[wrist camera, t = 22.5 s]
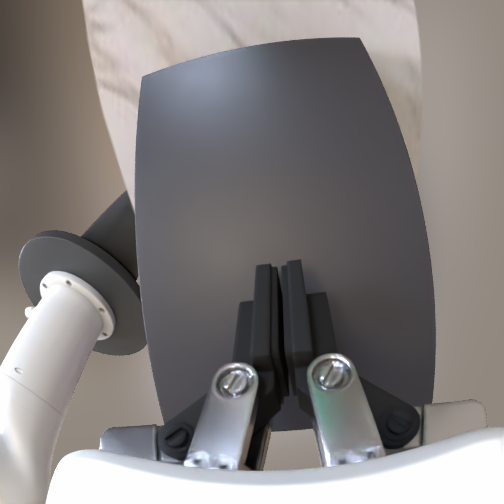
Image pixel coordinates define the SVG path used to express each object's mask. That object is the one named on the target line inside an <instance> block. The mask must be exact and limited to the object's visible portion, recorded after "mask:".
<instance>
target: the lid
mask: <svg viewBox="0 0 504 504" xmlns="http://www.w3.org/2000/svg"><path fill="white" fill-rule="evenodd" d="M135 227H136V247H137V262H138V274H139V285H140V294H141V303H142V311H143V318H144V326H145V332H146V339H147V345H148V351H149V356H150V362H151V367H152V372H153V377H154V382H155V386H156V391H157V396H158V400H159V404H160V409H161V412H162V416H163V420H164V424H166V423H167V422H168V421H170V420H171V419H172V418H174V417H175V416H177V415H178V414H179V413H181V412H182V411H184V410H185V409H186V408H188V407H189V406H190V405H192V404H193V403H194V402H196V401H197V400H198V399H200V398H201V397H202V396H204V395H205V394H206V393H208V390H209V387H210V384H211V381H212V378H213V376H214V375H215V373H216V372H217V371H218V370H219V369H220V368H221V367H223V366H224V365H226V364H230V363H232V358H233V350H234V341H235V333H236V325H237V316H238V308H239V303H240V302H244V301H253V300H254V286H255V271H256V265H261V264H269V263H271V265H272V267H276V266H277V268H278V274H279V279H280V284H281V290H282V270H281V266H283V265H287V261H291V260H299V259H301V263H302V270H303V277H304V284H305V292H306V294H311V293H318V292H325V291H326V294H327V299H328V303H329V308H330V314H331V319H332V324H333V329H334V335H335V340H336V346H337V352H338V354H341V355H343V356H346V357H347V358H348V359H350V360H351V361H352V363H353V364H354V366H355V369H356V371H357V374H358V376H360V377H362V378H364V379H365V380H367V381H369V382H370V383H372V384H374V385H376V386H377V387H379V388H381V389H383V390H385V391H386V392H388V393H390V394H392V395H393V396H395V397H397V398H399V399H401V400H403V401H404V402H406V403H408V404H410V405H411V406H413V407H419V406H423V405H424V404H431V403H432V399H433V389H434V375H435V349H436V347H435V346H436V326H435V302H434V287H433V276H432V267H431V259H430V252H429V244H428V238H427V233H426V226H425V221H424V216H423V211H422V206H421V201H420V197H419V193H418V188H417V184H416V180H415V176H414V173H413V169H412V165H411V162H410V158H409V155H408V152H407V149H406V145H405V142H404V139H403V136H402V133H401V130H400V127H399V125H398V122H397V119H396V116H395V114H394V111H393V108H392V106H391V103H390V101H389V98H388V96H387V94H386V91H385V89H384V87H383V84H382V82H381V80H380V78H379V75H378V73H377V71H376V69H375V67H374V65H373V63H372V61H371V59H370V57H369V55H368V53H367V51H366V49H365V47H364V45H363V43H362V41H361V40H360V38H315V39H302V40H291V41H282V42H275V43H267V44H261V45H255V46H249V47H244V48H239V49H234V50H229V51H225V52H220V53H216V54H212V55H208V56H204V57H201V58H197V59H193V60H190V61H187V62H183V63H180V64H177V65H174V66H171V67H168V68H165V69H162V70H159V71H156V72H154V73H151V74H148V75H146V76H143V77H142V82H141V90H140V99H139V109H138V121H137V135H136V155H135ZM282 295H283V292H282ZM303 429H313V426H312V422H311V418H310V416H309V415H308V414H307V413H305V412H304V411H302V410H301V409H300V408H299V402H298V397H297V396H294V395H293V390H292V386H291V381H290V376H289V396H287V397H284V404H281V410H280V411H279V412H278V413H277V414H276V415H275V416H274V417H273V425H272V430H271V432H273V431H290V430H303Z"/></svg>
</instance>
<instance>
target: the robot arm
mask: <svg viewBox="0 0 504 504" xmlns="http://www.w3.org/2000/svg"><path fill="white" fill-rule="evenodd" d="M281 270H282V290H281V284H280V279H279V274H278V268H277V266H276V267H272V265H271V263H269V264H261V265H256V271H255V286H254V300H253V301H244V302H240V303H239V308H238V316H237V325H236V333H235V341H234V350H233V358H232V363H230V364H226V365H224V366H223V367H221V368H220V369H219V370H218V371H217V372H216V373H215V375H214V376H213V378H212V381H211V384H210V387H209V390H208V393H206V394H205V395H204V396H202V397H201V398H200V399H198V400H197V401H196V402H194V403H193V404H192V405H190V406H189V407H188V408H186V409H185V410H184V411H182V412H181V413H179V414H178V415H177V416H175V417H174V418H172V419H171V420H170V421H168V422H167V423H166V424H165V425H164V426H157V425H156V424H154V425H143V426H128V427H112V428H109V429H107V430H106V431H105V432H104V433H103V434H102V436H101V440H100V450H81V451H76V452H73V453H70V454H68V455H66V456H65V457H63V459H62V460H61V461H60V463H59V464H58V466H57V468H56V470H55V472H54V475H53V478H52V481H51V484H50V472H51V463H52V457H53V453H54V448H55V444H56V441H57V438H58V434H59V431H60V428H61V425H62V422H63V420H64V417H65V414H66V412H67V409H68V406H69V404H70V401H71V399H72V396H73V394H74V391H75V389H76V386H77V384H78V381H79V379H80V377H81V374H82V372H83V370H84V367H85V365H86V363H87V361H88V358H89V356H90V354H91V352H92V350H93V348H94V345H95V343H96V341H97V340H104V339H107V338H109V337H110V336H111V335H112V333H113V331H114V329H115V324H116V321H115V316H114V314H113V311H112V309H111V308H110V306H109V304H108V303H107V302H106V300H105V299H104V298H103V296H102V295H101V294H100V293H99V292H98V291H97V290H96V289H94V288H93V287H92V286H91V285H90V284H88V283H87V282H85V281H84V280H82V279H81V278H79V277H77V276H75V275H73V274H70V273H67V272H63V271H52V272H49V273H48V274H47V275H46V276H45V277H44V278H43V280H42V281H41V284H40V293H41V297H42V299H41V301H40V302H39V304H38V305H37V306H36V307H27V308H26V310H25V315H26V317H27V318H28V320H27V322H26V323H25V325H24V327H23V328H22V330H21V332H20V333H19V335H18V336H17V338H16V340H15V341H14V343H13V345H12V347H11V348H10V350H9V352H8V354H7V355H6V357H5V359H4V361H3V363H2V365H1V366H0V504H504V428H503V427H489V428H487V413H486V409H485V407H484V405H483V404H482V403H481V402H480V401H478V400H472V399H470V400H463V401H455V402H445V403H434V404H424V405H423V406H419V407H413V406H411V405H410V404H408V403H406V402H404V401H403V400H401V399H399V398H397V397H395V396H393V395H392V394H390V393H388V392H386V391H385V390H383V389H381V388H379V387H377V386H376V385H374V384H372V383H370V382H369V381H367V380H365V379H364V378H362V377H360V376H358V374H357V371H356V369H355V366H354V364H353V363H352V361H351V360H350V359H348V358H347V357H346V356H343V355H341V354H338V352H337V346H336V340H335V335H334V329H333V324H332V319H331V314H330V308H329V303H328V299H327V294H326V291H325V292H318V293H311V294H306V292H305V284H304V277H303V270H302V263H301V259H299V260H291V261H287V265H283V266H281ZM282 292H283V295H282ZM289 376H290V381H291V386H292V390H293V395H294V396H297V397H298V402H299V408H300V409H301V410H302V411H304V412H305V413H307V414H308V415H309V416H310V418H311V422H312V426H313V431H314V435H315V439H316V444H317V448H318V452H319V457H320V462H321V466H322V467H320V468H311V469H298V470H279V471H263V468H264V464H265V459H266V454H267V450H268V445H269V440H270V435H271V430H272V425H273V417H274V416H275V415H276V414H277V413H278V412H279V411H280V410H281V404H284V397H287V396H289Z"/></svg>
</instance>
